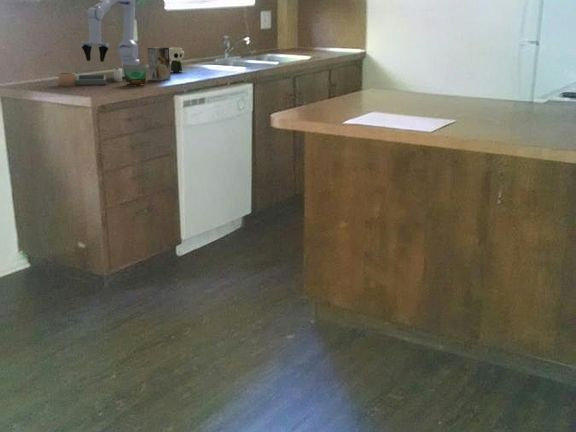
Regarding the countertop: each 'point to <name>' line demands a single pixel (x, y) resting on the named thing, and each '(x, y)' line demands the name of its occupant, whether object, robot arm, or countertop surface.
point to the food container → (135, 74)
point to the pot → (67, 79)
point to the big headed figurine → (176, 58)
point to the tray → (91, 80)
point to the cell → (117, 74)
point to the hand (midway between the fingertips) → (95, 61)
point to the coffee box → (159, 63)
